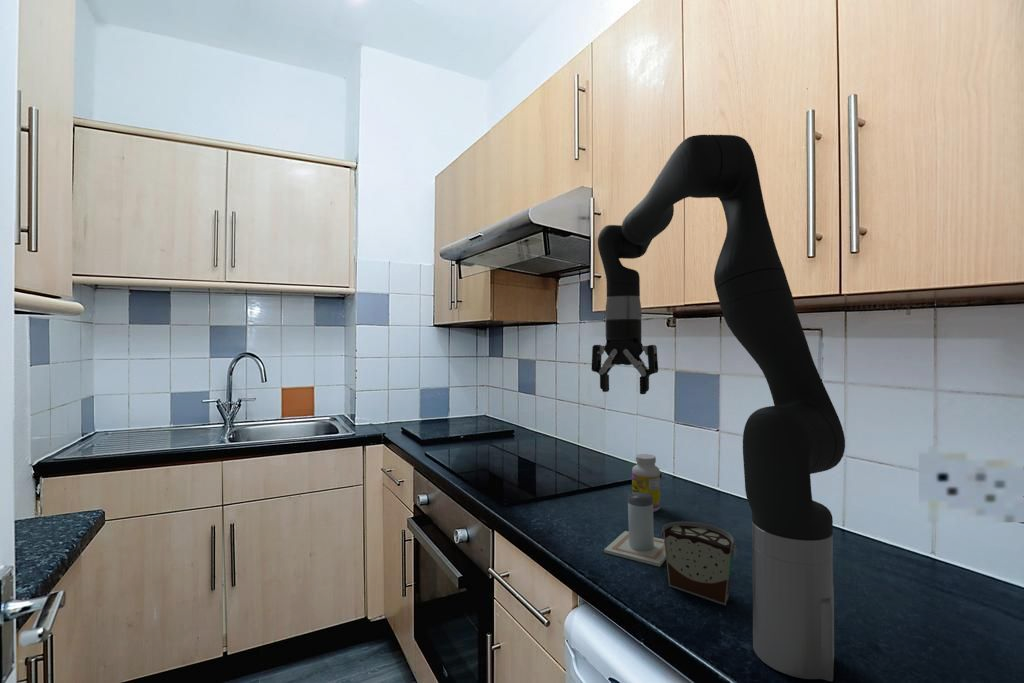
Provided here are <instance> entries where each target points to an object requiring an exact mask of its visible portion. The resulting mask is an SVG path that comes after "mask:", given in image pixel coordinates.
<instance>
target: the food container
mask: <svg viewBox="0 0 1024 683" xmlns="http://www.w3.org/2000/svg"><path fill="white" fill-rule="evenodd" d="M659 537H660V538H663V539H664V544H665V553H666V560H665V561H666V571H667V580H668V581H667V582H668V587H671V588H674V589H676V590H679V591H682V592H685V593H688V594H691V595H693V596H697V597H699V598H703V599H705V600H709V601H711V602H713V603H716V604H719V605H723V606H727V604H728V602H729V593H730V583H731V574H732V565H733V564H732V563H733V558H734V559H735V558H737V556H738V551H737V546H736V541H735V540H734V537H733V535H731V533H729V532H728V531H727V530H724V529H722V528H720V527H718V526H715V525H711V524H708V523H702V522H697V521H674V522H669V523H666V524H664V525H662V529H661V531H660V536H659Z"/></svg>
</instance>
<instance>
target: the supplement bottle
mask: <svg viewBox="0 0 1024 683" xmlns="http://www.w3.org/2000/svg"><path fill="white" fill-rule="evenodd" d="M635 461H636V464H635V465H634V466H632V469H631V488H632V489H631V490H632V491H631V493H633V492H644V493H649V494H651V495H652V496H653V513H654V512H657V511H659V510H660V508H661V471H660V468H659V467H658V466H657V465H656V462H657V460H656V455H654V454H649V453H642V454H641V453H640V454H639V453H638V454H636V456H635Z"/></svg>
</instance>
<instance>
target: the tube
mask: <svg viewBox="0 0 1024 683" xmlns="http://www.w3.org/2000/svg"><path fill="white" fill-rule="evenodd" d="M627 512H628V513H627V514H628V515H627V517H628V532H629V546H630V547H631V548H632V549H634V550H637V551H650V550H652V549H653V548H654V537H655V535H654V529H655V528H654V527H655V526H654V512H653V496H652V495H651V494H649V493H644V492H633V493H632V492H630V493H628V494H627Z"/></svg>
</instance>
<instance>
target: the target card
mask: <svg viewBox="0 0 1024 683" xmlns="http://www.w3.org/2000/svg"><path fill="white" fill-rule="evenodd" d="M603 553H604V554H609V555H611V556H616V557H620V558H624V559H628V560H631V561H635V562H639V563H644V564H647V565H651V566H656V567H658V568H659V567H661V566H662V565H663V563H664V562H665V561H666V553H665V544H664V538H661V537H660V538H659V537H655V536H654V548H653V549H652V550H650V551H637V550H634V549H632V548H631V547H630V546H629V530H628V531H627V530H624V531H623V532H621V534H620V535H619V536H617V537H616V539H614V540H613V541H612V542H611V543H610V544H608V545H607V547H605V548H604V549H603Z"/></svg>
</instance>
